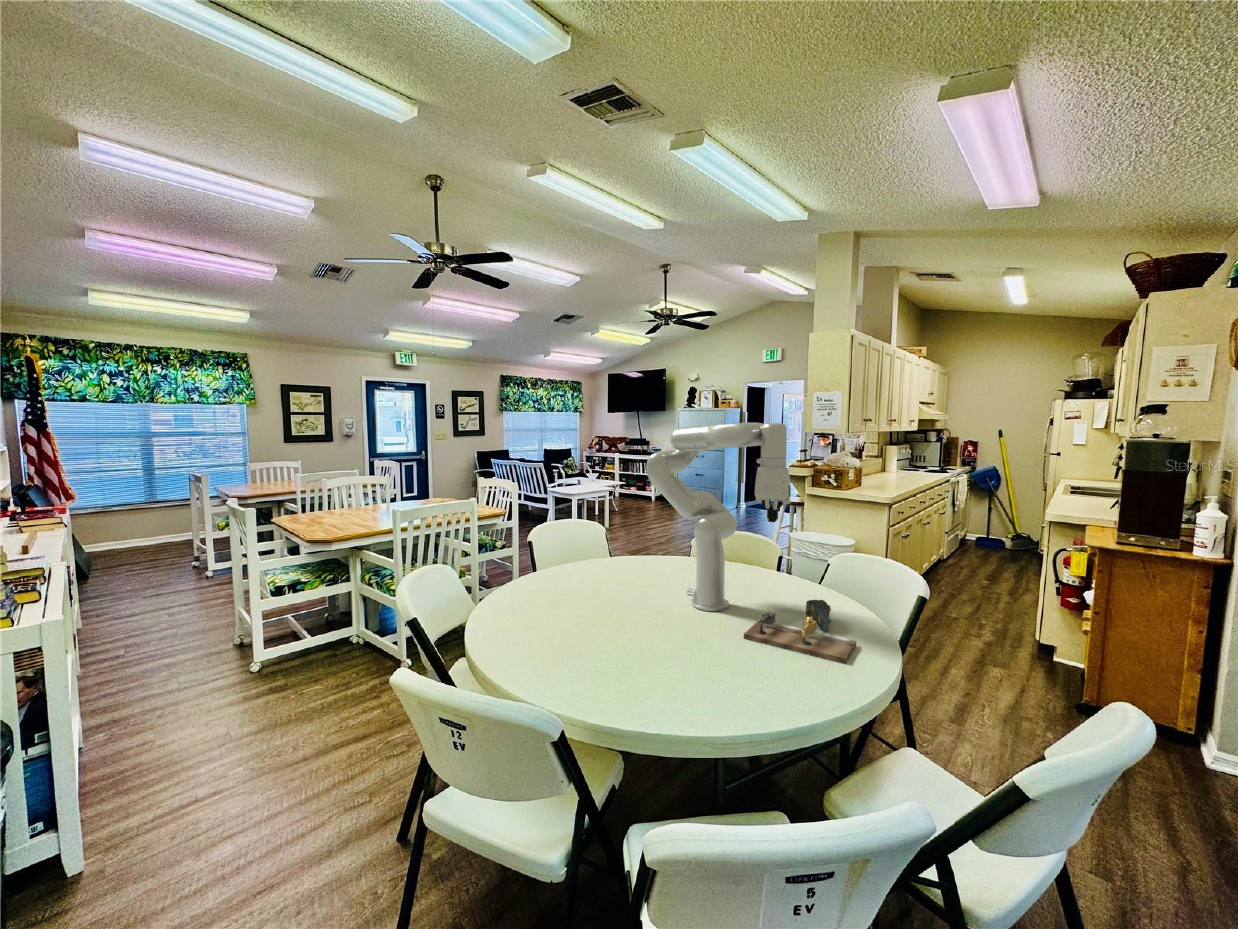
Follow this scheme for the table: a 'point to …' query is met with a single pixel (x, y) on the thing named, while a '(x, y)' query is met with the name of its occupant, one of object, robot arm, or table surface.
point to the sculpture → (819, 613)
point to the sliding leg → (808, 626)
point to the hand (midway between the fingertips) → (772, 521)
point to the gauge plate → (800, 639)
